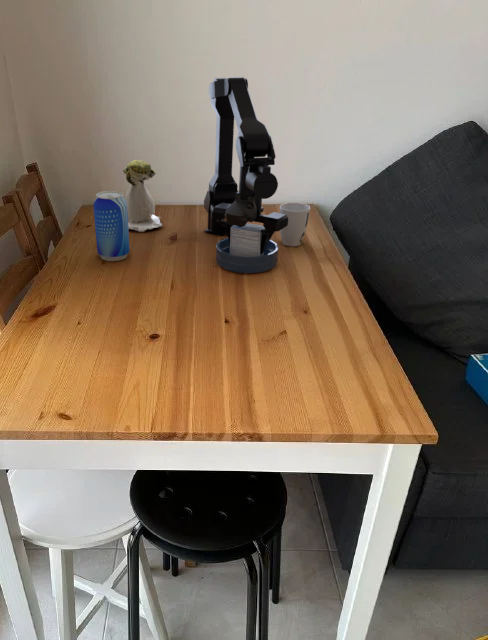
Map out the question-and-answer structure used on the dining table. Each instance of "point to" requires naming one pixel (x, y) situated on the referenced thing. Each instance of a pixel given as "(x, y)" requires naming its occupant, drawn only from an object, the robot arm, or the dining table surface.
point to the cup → (294, 223)
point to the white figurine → (140, 197)
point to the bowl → (246, 258)
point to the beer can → (111, 225)
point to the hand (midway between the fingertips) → (247, 250)
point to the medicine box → (246, 240)
